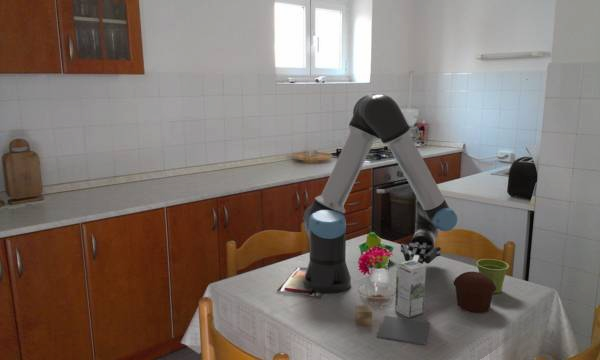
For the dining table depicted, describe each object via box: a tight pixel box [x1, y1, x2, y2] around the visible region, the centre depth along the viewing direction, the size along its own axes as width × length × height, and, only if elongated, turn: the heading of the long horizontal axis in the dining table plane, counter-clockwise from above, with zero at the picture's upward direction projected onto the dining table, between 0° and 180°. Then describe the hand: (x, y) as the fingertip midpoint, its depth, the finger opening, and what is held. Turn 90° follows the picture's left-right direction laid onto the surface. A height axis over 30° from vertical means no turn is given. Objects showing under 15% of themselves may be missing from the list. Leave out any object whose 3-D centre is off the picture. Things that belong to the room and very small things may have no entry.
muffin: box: [453, 271, 496, 314], centre depth 140 cm, size 12×11×10 cm
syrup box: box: [394, 260, 427, 319], centre depth 136 cm, size 6×6×14 cm
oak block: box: [354, 305, 373, 327], centre depth 131 cm, size 4×4×4 cm
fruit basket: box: [358, 231, 395, 261], centre depth 179 cm, size 11×9×11 cm
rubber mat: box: [376, 315, 430, 346], centre depth 127 cm, size 12×12×1 cm
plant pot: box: [476, 258, 510, 294], centre depth 151 cm, size 9×9×9 cm
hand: (414, 266), depth 142 cm, fingers closed
